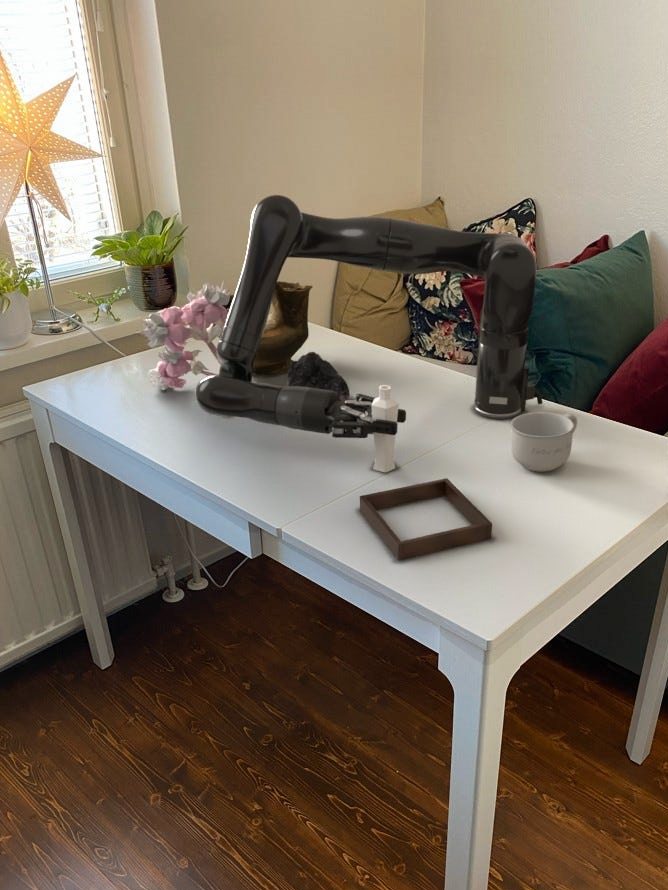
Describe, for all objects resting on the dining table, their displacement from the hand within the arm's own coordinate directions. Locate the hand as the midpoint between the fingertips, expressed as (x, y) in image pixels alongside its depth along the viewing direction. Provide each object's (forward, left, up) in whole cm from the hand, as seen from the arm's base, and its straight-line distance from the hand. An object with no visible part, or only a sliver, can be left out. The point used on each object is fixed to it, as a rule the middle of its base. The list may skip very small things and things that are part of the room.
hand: (400, 422), depth 149 cm
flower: (+27, -48, -9) cm, 55 cm away
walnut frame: (+4, +18, -9) cm, 21 cm away
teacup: (-25, +7, -9) cm, 28 cm away
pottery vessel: (+8, -55, -9) cm, 56 cm away
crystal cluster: (+4, -34, -9) cm, 35 cm away
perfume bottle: (+2, -2, -9) cm, 10 cm away
